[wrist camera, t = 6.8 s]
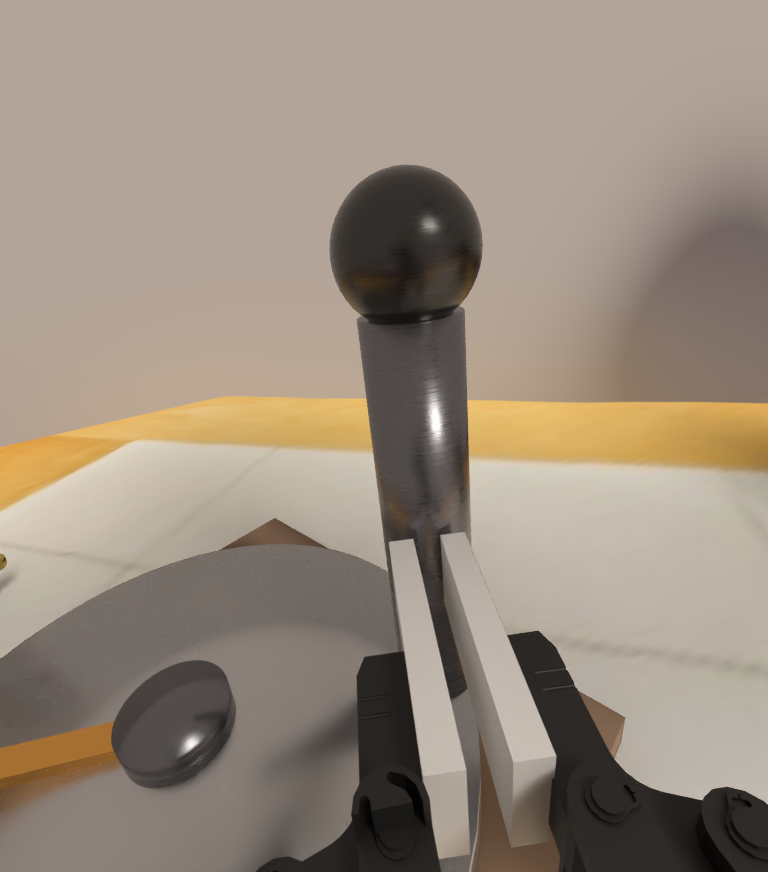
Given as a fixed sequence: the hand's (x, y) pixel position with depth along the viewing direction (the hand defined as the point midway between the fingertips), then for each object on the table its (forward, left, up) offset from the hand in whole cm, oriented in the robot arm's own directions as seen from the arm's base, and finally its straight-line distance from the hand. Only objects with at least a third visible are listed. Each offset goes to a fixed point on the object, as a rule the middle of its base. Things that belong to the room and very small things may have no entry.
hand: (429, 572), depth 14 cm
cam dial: (+6, -7, -8) cm, 12 cm away
